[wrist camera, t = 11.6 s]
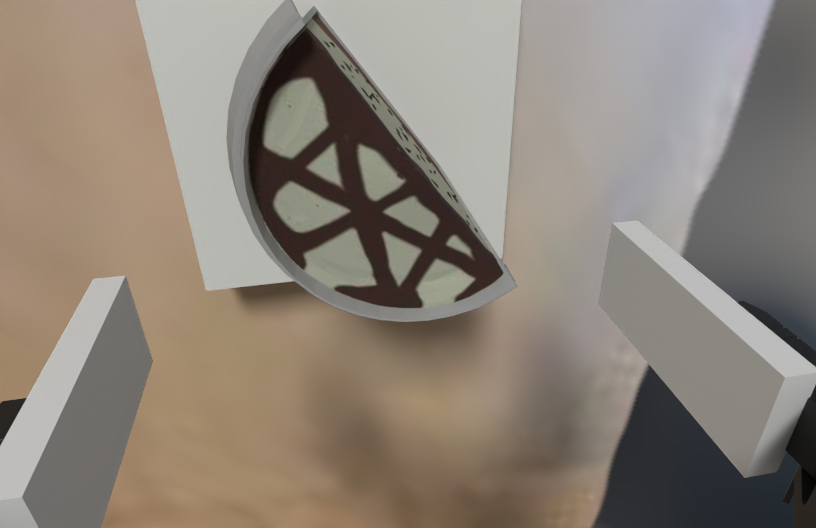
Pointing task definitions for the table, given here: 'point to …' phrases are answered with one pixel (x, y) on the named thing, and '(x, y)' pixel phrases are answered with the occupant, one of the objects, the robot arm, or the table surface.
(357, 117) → the food container
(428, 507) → the table surface
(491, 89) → the stand
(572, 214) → the table surface
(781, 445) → the robot arm
